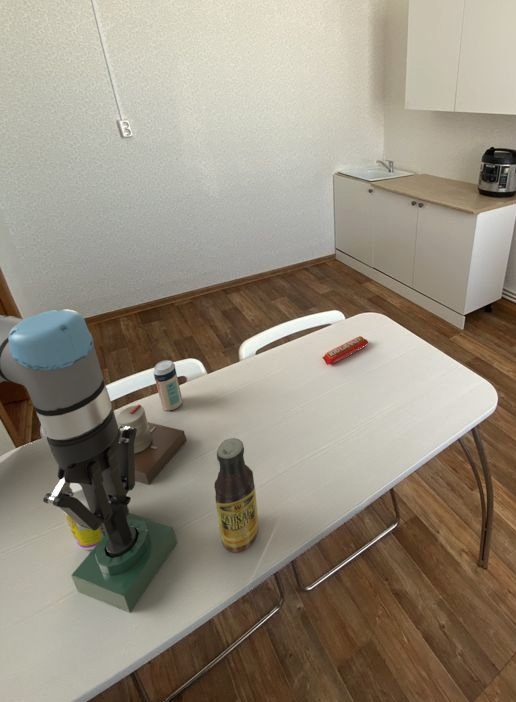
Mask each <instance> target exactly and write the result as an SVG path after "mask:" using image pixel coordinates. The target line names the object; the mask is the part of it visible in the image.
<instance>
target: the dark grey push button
mask: <svg viewBox="0 0 516 702" xmlns="http://www.w3.org/2000/svg"><path fill="white" fill-rule="evenodd" d="M129 528H130V531H131V534H132V536H131V538H130V539H129V540H128V541H127V543H126V544H125V545H121V544H118V543H115V542H112V541H110V539H108V541H107V544H106V549H107V552H108V555H109V557H111V558H115V557H119V556H122V555H124V554H125V553H126V552H128V551H129V550H131V548H132V547H133V546H134V544H135V543H136V542H137V539H138V537H137V534H136V531H135V529H134V528H133V527H131V526H129Z"/></svg>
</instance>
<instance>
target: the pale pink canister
mask: <svg viewBox="0 0 516 702" xmlns="http://www.w3.org/2000/svg"><path fill="white" fill-rule="evenodd" d="M152 374H153V376H154V380H155V384H156V388H157V393H158V397H159V400H160V405H161V409H162V410H164V411H174V410H175V409H178V408H179V407H180V406H181V405H182V403H183V401H184V400H183V397H182V392H181V387H180V383H179V378H178V374H177V370H176V364H175V363H174V362H173V361H172V360H169V359H166V360H161V361H158V362H157V363H156V364H155V365H154V368H153V370H152Z"/></svg>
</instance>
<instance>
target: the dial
mask: <svg viewBox="0 0 516 702" xmlns="http://www.w3.org/2000/svg"><path fill="white" fill-rule="evenodd" d="M116 421H117V424H118V428H119V427H120V426H122V425H124V426H129V427H133V428H136V429H137V433H136V437H135V441H134V453H138V452H141V451H143V450H144V449H146V448H147V447H148V446H149V445H150V444H151V442H152V436H151V433H150V429H149V425H148V422H149V421H148V418H147V414H146V409H145V407H144V406H142V405H141V404H139V403H138V404H135V405H130V406H128V407H126V408H124V409H122V410H121V411H120V412H119V413H118V414H117V416H116Z"/></svg>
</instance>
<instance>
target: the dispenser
mask: <svg viewBox="0 0 516 702" xmlns="http://www.w3.org/2000/svg"><path fill="white" fill-rule="evenodd" d="M126 519H127V522H128V525H129V526H131V527H133V528H134V529H135V531H136V534H137V537H138V539H137V542H136V543H135V544H134V546H133V547H132V548H131V550H129V551H128V552H126V553H125V554H124V555H122V556H119V557H115V558H111V557H109V555H108V552H107V549H106V544H107V541H108V539H109V536H108V535H105V536H104V537H103V538H102V539H101V541H100V542H99V543H98V544H97V546H96V547H95V548H94V549H92V550H90V551H91V552H90V553H89V554H88V555H87V556H85V558H84V560H83V561H82V562H81V563H80V564H79V565H78V567H77V568H76V569H75V570H74V571H73V572H72V573H71V575H70V576H71V579H72V582H73V583H74V586H75V588H76V590H77V592H78V593H80V594H82V595H85V596H86V597H89V598H92V599H94V600H97V601H99V602H102V603H104V604H107V605H109V606H112V607H115V608H117V609H119V610H122V611H125V612H127V613H131V612H132V611H133V609H134V608H135V606H136V605H137V603H138V602H139V601H140V599H141V597H142V596H143V595H144V593H145V592H146V590H147V589H148V588H149V586H150V584H151V583H152V581H153V580H154V579H155V577H156V576H157V574H158V573H159V571H160V570H161V568H162V567H163V565H164V563H165V562H166V561H167V559H168V558H169V557H170V555H171V553H172V552H173V550H174V549H175V547H176V546H177V545H178V540H177V539H178V538H177V536H176V532H175V527H174V526H171V525H168V524H165V523H162V522H159V521H155V520H152V519H149V518H146V517H143V516H140V515H137V514H133V513H131V512H129V514H128V515H127V516H126Z"/></svg>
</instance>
